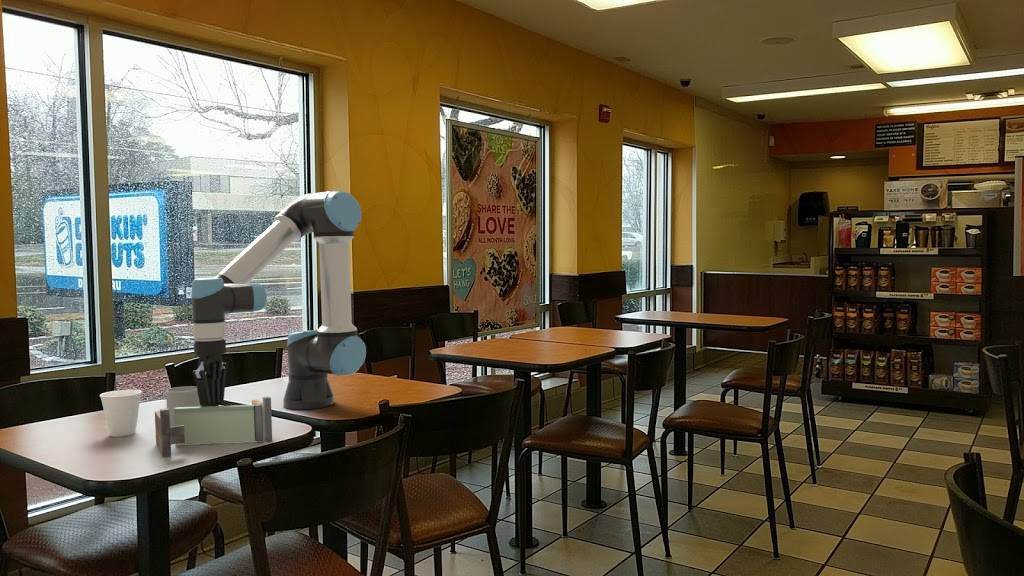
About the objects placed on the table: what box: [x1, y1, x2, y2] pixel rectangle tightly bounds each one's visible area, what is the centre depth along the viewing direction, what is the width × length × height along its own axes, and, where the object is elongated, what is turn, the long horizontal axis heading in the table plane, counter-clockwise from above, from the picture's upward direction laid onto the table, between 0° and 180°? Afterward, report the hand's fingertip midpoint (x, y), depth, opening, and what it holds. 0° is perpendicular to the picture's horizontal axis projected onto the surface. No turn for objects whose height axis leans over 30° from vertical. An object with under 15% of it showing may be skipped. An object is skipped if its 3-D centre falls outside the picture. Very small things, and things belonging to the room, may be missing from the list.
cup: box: [99, 389, 143, 438], centre depth 198 cm, size 10×10×11 cm
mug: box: [165, 385, 201, 427], centre depth 204 cm, size 12×8×11 cm
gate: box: [174, 404, 264, 446], centre depth 187 cm, size 21×2×9 cm, turn 95°
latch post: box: [154, 407, 185, 458], centre depth 181 cm, size 5×15×11 cm, turn 32°
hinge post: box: [251, 396, 273, 443], centre depth 194 cm, size 2×14×11 cm, turn 32°
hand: (213, 431), depth 191 cm, fingers closed
